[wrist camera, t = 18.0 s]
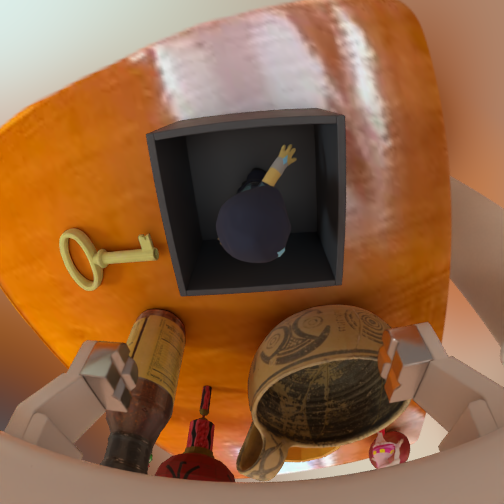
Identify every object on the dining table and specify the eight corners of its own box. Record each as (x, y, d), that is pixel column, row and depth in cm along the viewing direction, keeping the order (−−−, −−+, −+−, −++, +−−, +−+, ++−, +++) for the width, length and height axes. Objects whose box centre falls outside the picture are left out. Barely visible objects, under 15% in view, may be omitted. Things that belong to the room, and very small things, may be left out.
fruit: (363, 431, 48) (373, 477, 39) (405, 418, 46) (418, 462, 37) (366, 446, 51) (375, 487, 42) (404, 434, 50) (415, 474, 41)
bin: (317, 108, 23) (345, 115, 16) (321, 233, 29) (342, 285, 21) (179, 120, 24) (145, 134, 17) (199, 242, 30) (180, 296, 22)
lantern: (185, 406, 43) (159, 588, 17) (164, 368, 38) (118, 585, 12) (246, 404, 42) (241, 599, 16) (233, 364, 38) (219, 605, 11)
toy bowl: (341, 397, 41) (347, 424, 37) (333, 434, 47) (336, 458, 43) (259, 404, 42) (259, 433, 38) (265, 440, 48) (265, 464, 44)
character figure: (244, 233, 28) (237, 322, 18) (205, 209, 27) (174, 288, 17) (305, 150, 25) (342, 195, 14) (264, 122, 24) (271, 144, 13)
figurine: (387, 384, 40) (413, 470, 27) (407, 405, 44) (430, 478, 31) (333, 412, 43) (346, 496, 30) (359, 429, 47) (373, 501, 34)
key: (168, 248, 30) (162, 259, 28) (87, 290, 33) (80, 301, 31) (127, 186, 27) (118, 193, 25) (51, 241, 30) (41, 250, 28)
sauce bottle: (148, 346, 37) (104, 490, 19) (129, 307, 34) (63, 461, 16) (197, 342, 36) (169, 501, 18) (180, 301, 33) (132, 475, 16)
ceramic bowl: (284, 402, 42) (289, 495, 29) (199, 338, 36) (179, 452, 22) (423, 326, 35) (470, 420, 22) (369, 229, 29) (439, 338, 15)
